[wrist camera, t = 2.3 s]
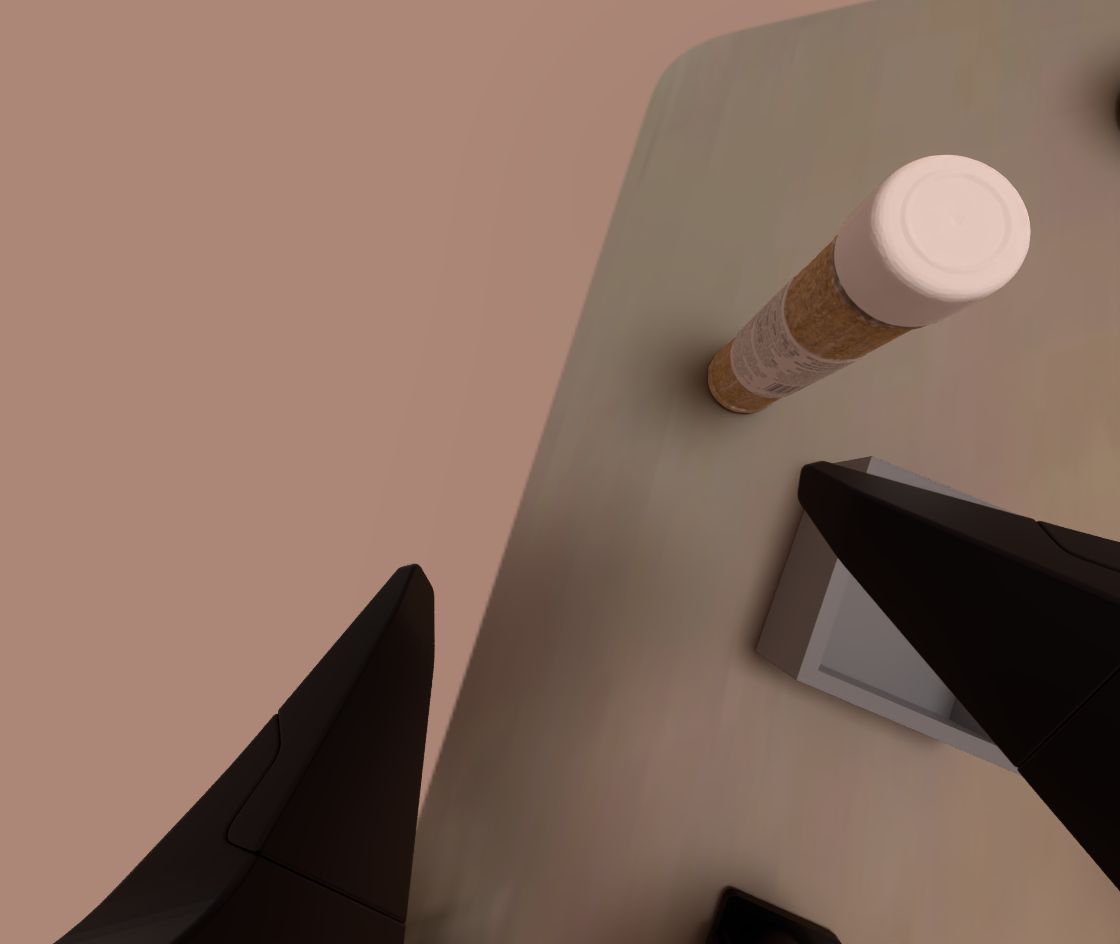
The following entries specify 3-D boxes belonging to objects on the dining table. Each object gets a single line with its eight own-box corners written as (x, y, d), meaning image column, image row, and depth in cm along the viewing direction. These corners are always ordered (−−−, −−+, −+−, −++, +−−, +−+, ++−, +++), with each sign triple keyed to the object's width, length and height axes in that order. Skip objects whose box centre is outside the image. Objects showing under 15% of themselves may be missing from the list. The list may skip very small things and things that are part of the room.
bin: (1005, 540, 24) (1096, 546, 20) (948, 733, 22) (1032, 780, 18) (819, 465, 24) (871, 456, 20) (755, 651, 23) (796, 679, 19)
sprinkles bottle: (781, 351, 25) (1045, 159, 11) (773, 421, 24) (1037, 309, 11) (709, 338, 25) (886, 133, 11) (699, 409, 24) (871, 281, 11)
